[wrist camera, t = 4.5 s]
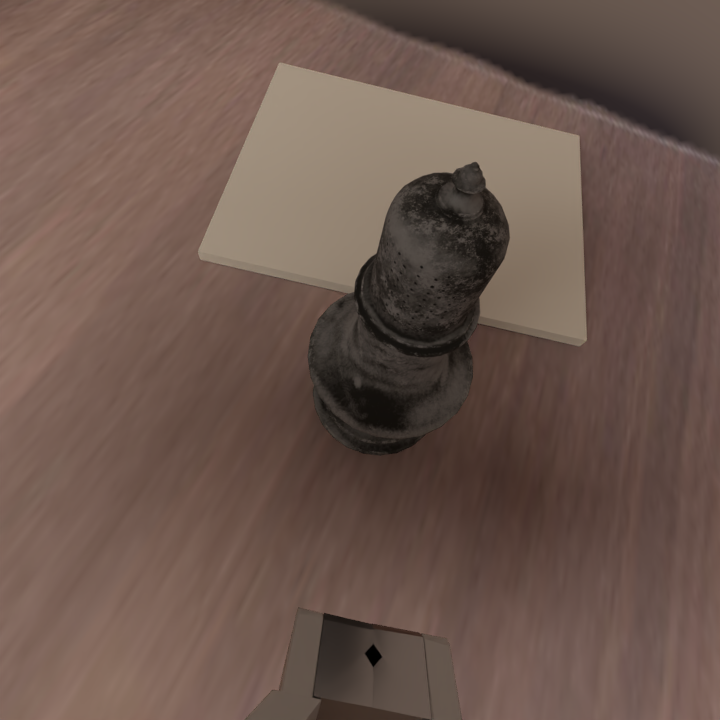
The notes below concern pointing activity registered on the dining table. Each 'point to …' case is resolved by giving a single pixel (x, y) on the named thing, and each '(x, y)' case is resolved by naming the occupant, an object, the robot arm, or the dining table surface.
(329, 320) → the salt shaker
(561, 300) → the placemat
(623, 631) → the dining table surface
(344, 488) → the dining table surface
